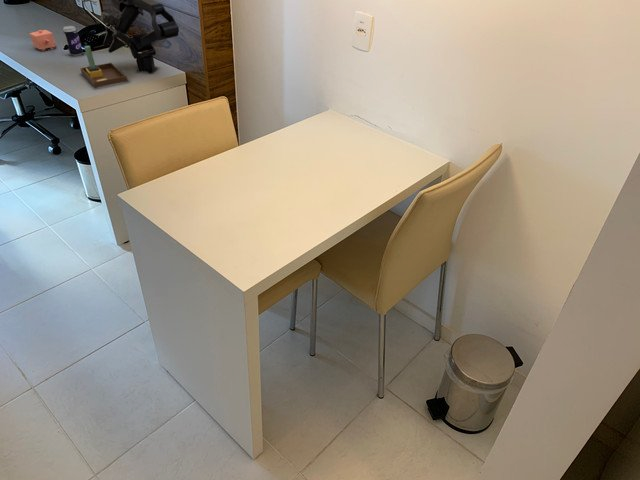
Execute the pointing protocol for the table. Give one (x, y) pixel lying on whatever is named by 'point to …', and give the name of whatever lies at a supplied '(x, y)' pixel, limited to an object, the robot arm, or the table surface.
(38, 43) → the pink cube teapot
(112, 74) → the tray
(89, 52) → the sponge wand
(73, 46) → the beverage can
